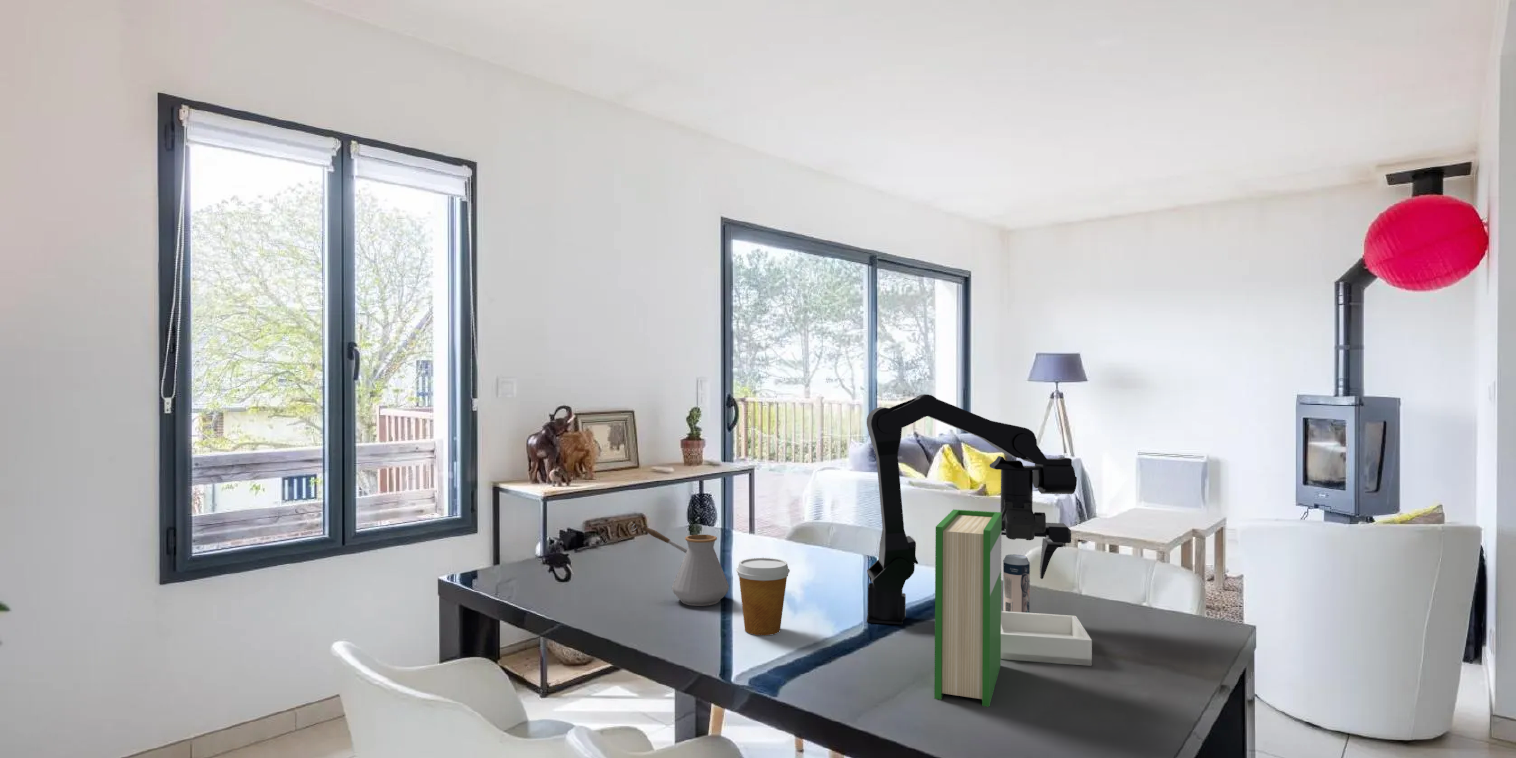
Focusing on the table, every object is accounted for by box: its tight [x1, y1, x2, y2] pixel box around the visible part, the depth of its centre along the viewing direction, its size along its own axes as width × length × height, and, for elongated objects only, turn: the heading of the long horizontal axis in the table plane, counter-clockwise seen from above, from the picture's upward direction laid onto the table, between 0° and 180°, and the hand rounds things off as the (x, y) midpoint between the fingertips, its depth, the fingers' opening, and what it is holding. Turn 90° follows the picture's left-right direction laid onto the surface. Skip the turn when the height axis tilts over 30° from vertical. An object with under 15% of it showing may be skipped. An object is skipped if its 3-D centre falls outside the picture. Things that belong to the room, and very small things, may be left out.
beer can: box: [1002, 554, 1031, 613], centre depth 151 cm, size 5×5×12 cm
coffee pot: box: [630, 521, 730, 607], centre depth 165 cm, size 21×12×15 cm, turn 70°
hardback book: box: [933, 508, 1002, 708], centre depth 120 cm, size 18×7×24 cm, turn 158°
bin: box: [1001, 610, 1093, 667], centre depth 135 cm, size 14×14×4 cm
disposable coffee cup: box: [735, 557, 791, 636], centre depth 144 cm, size 10×10×12 cm
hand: (1015, 576), depth 151 cm, fingers open, 9 cm apart
